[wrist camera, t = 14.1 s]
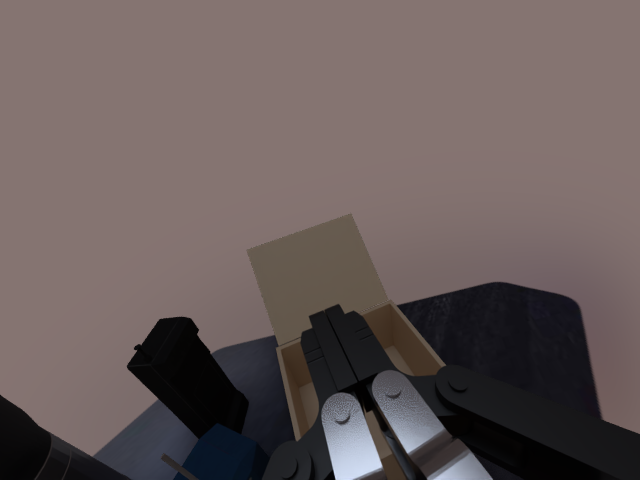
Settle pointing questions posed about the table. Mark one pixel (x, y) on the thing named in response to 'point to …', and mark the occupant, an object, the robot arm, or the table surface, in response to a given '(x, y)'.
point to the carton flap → (315, 275)
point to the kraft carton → (400, 347)
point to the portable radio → (188, 377)
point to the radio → (222, 458)
